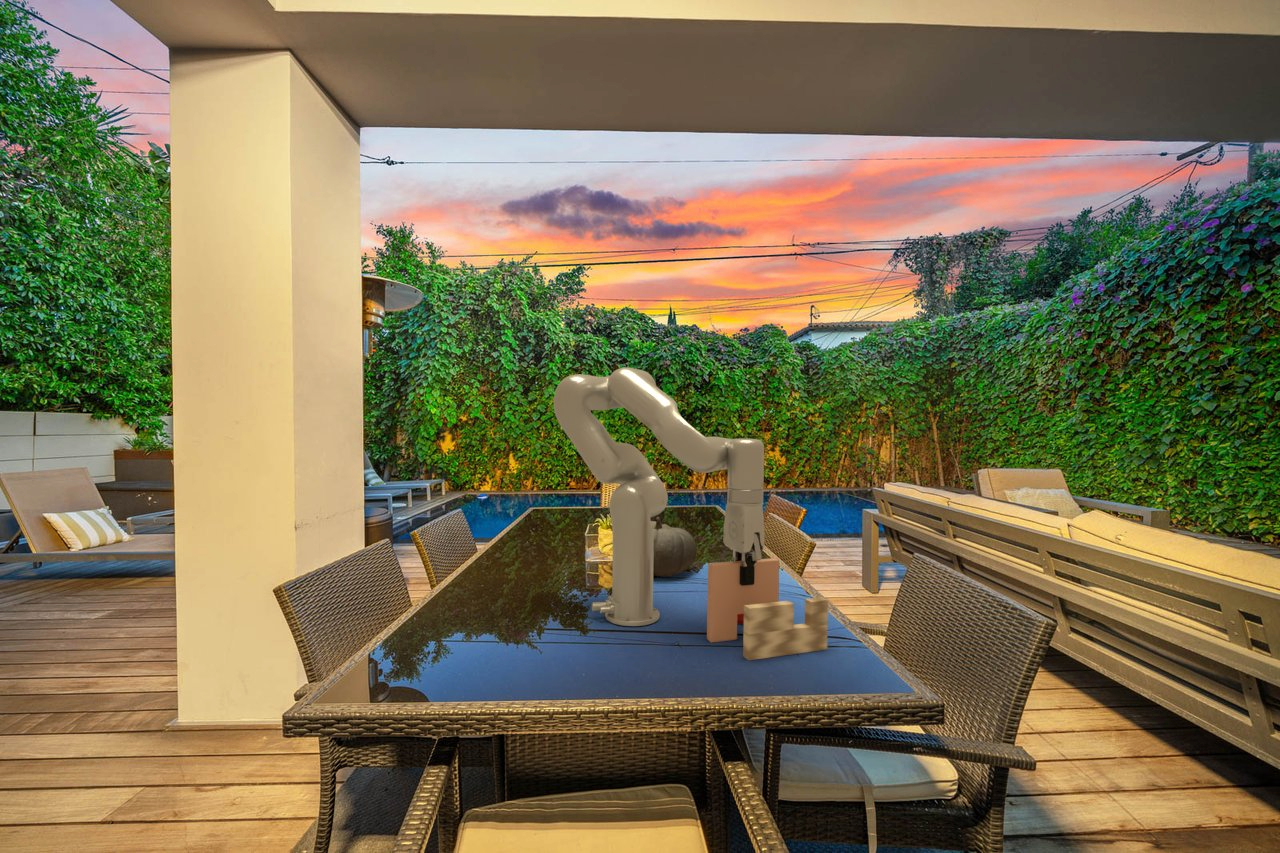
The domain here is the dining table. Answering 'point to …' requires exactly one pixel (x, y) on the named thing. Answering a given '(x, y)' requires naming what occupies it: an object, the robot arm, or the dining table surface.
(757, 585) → the terracotta plate
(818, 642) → the oak board
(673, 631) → the dining table surface
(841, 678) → the dining table surface
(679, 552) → the gourd
